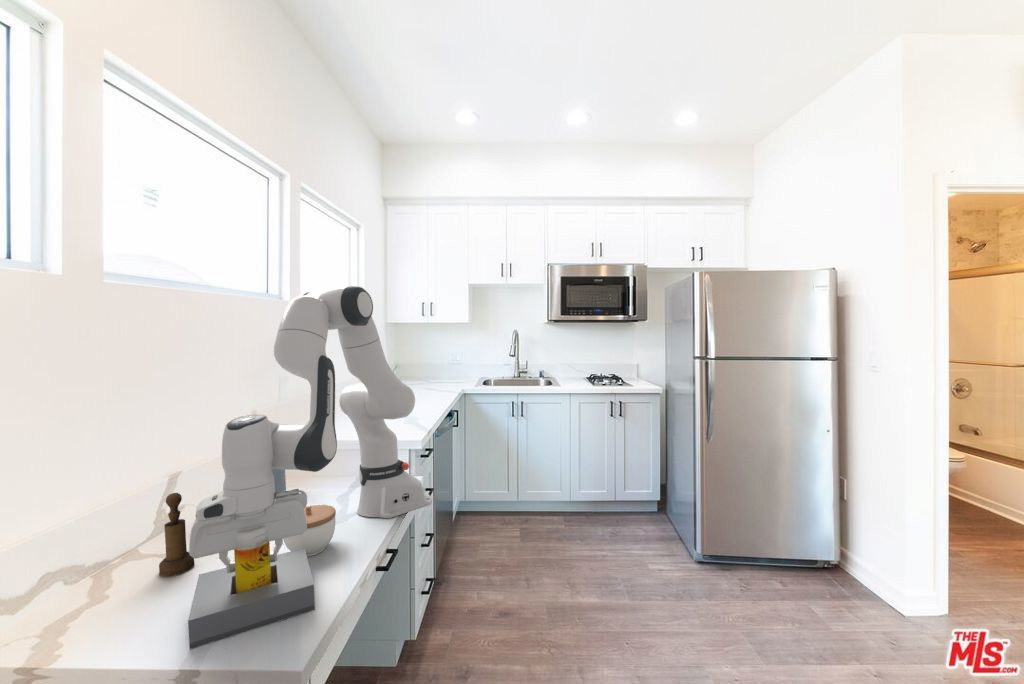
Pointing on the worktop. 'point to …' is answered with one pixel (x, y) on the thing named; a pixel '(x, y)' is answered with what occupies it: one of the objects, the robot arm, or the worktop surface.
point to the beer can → (252, 559)
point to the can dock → (249, 600)
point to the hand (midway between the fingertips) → (252, 565)
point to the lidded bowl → (314, 530)
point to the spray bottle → (279, 480)
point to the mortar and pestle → (175, 541)
